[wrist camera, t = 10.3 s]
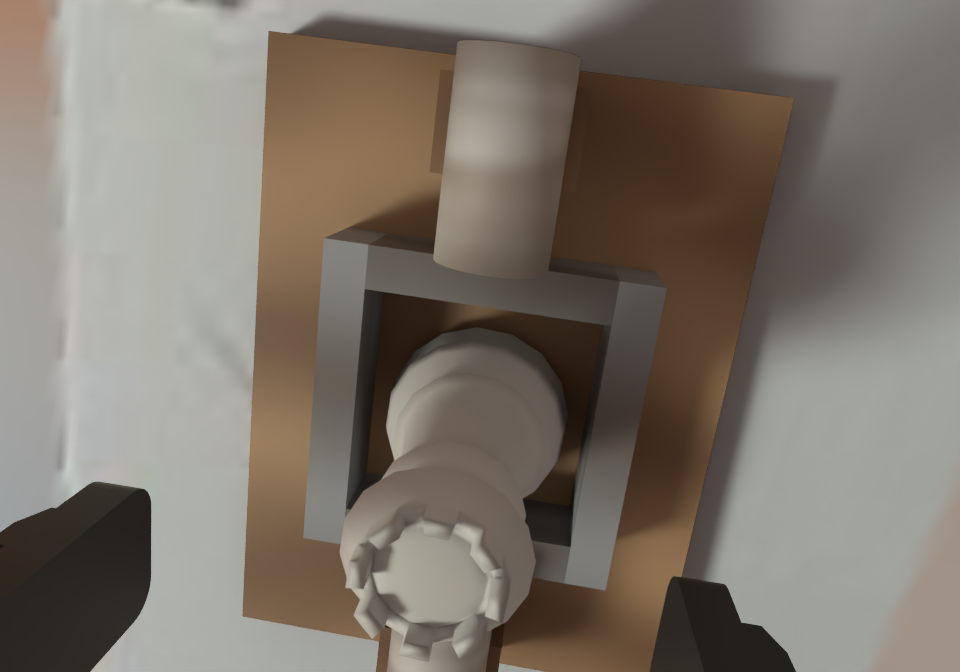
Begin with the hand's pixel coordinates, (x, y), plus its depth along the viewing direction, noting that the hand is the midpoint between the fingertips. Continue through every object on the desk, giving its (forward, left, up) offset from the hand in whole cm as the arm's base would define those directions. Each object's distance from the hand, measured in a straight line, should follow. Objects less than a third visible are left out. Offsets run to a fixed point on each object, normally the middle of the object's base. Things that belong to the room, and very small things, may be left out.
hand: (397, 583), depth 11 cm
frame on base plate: (0, 0, -9) cm, 9 cm away
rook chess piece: (0, 0, -8) cm, 8 cm away
